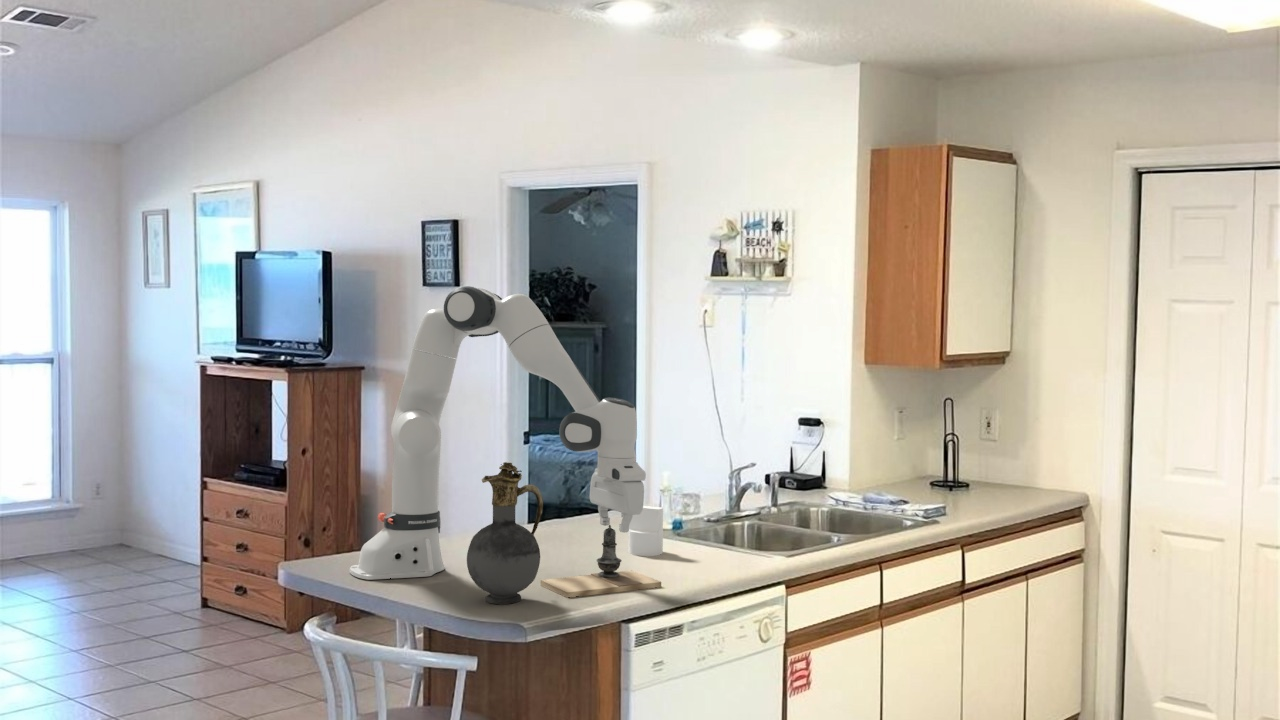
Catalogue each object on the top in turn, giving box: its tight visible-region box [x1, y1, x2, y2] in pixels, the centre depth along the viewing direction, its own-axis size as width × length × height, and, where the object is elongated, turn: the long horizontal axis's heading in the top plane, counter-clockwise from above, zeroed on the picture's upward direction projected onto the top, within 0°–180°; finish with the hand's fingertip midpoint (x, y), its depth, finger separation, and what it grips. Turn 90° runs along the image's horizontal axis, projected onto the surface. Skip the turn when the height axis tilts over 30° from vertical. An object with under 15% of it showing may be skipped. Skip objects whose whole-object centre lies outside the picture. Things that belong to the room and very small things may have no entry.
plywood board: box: [540, 570, 662, 599], centre depth 285 cm, size 24×14×1 cm, turn 120°
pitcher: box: [466, 461, 544, 605], centre depth 271 cm, size 11×19×30 cm, turn 138°
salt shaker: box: [596, 524, 622, 578], centre depth 290 cm, size 6×6×12 cm
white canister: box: [627, 505, 664, 557], centre depth 325 cm, size 9×9×12 cm
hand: (614, 528), depth 286 cm, fingers open, 8 cm apart
